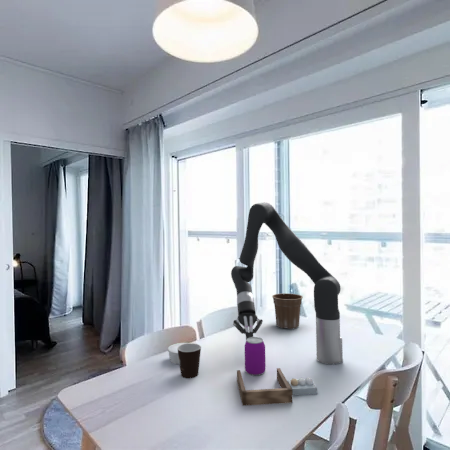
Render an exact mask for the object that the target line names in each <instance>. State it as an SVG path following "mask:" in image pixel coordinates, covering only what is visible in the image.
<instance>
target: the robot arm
mask: <svg viewBox="0 0 450 450" xmlns="http://www.w3.org/2000/svg"><path fill="white" fill-rule="evenodd" d="M248 211H249V212H248V217H247V218H248V219H247V224H246V231H245V237H244V241H243V246H242V248H241V252H240V255H239V262H240V263H241V264H242V265H244V266H241V265H235V266H233V267H232V269H231V271H230V277H231V280H232V282H233V284H234V287H235V289H236V290H235V291H236V306H237V314H238V315H237V319H234V320H233V323H232V325H233V326H234V328H236V329H237V331H239V332H240V333H241V334H244V335H245V341H246V340H247V338H250V337H254V334H257V332H258V331H259V329H260V328H261V326H262V324H263V322H264V321H263V319H259V318H258V315H257V313H256V305H255V300H254V295H253V287H252V284H251V283H250V282H252V281H253V279H254V266H255V265H254V264H255V261H256V257H257V254H258V251H259V234H260V230H261V228H262V226H263V224H265V225H266V227H268V229H270V230H271V232H272V233H273V235H274V237H275V240H276V243H277V245H278V247H279V249H280V251H281V252H282V253H283V255H284V256H285V257H286V258H287V259H288V260H289V262H291V263H292V264H293V265H294V266H295V267H296V268H298V269H299V270H301V271H302V272H304V273H305V274H306V275H307V276H308V277H309V279H310V280H311V281H312V282H313V284H314V286H313V306H314V307H313V308H314V311H315V337H316V338H315V341H316V344H315V346H316V348H315V350H316V351H315V352H316V354H315V355H316V360H317V361H318V362H320V363H321V364H324V365H338V364H340V363H343V362H344V361H343V360H344V359H343V337H341V319H340V318H341V313H340V309H339V294H341V293H340V292H341V289H342V287H341V285H340V282H339V281H338V280H337V278H336V277H334V275H333V274H331V273H330V272H329V271H328V270H327V269H326V268H325V267H324V266H323V265H322V264H321V263H320V262H319V260H317V257H315V256H314V254H313V253H312V252H311V250H310V249H309V248H308V247H307V246H306V245H305V243H303V241H302V239H300V238H299V236H297V234H296V233H295V232H294V231H293V230H292V228H290V227H289V226H288V225H287V223H286V222H285V221H284V220H283V218H282V217H281V215H280V214H279V213H278V212H277V210H276V209H275V207H274V206H273V205H272V204H270V203H269V202H258V203H255V204H253V205H252V206H251V207H250V209H249V210H248ZM255 324H256V325H255ZM254 325H255V327H254Z"/></svg>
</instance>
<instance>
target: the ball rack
mask: <svg viewBox="0 0 450 450" xmlns="http://www.w3.org/2000/svg"><path fill="white" fill-rule="evenodd" d="M286 380H287V379H286ZM287 382H288V383H289V385H290V387H291V389H292V396H304V395H317V394H318V388H317V386H316V384H315V383H314V381H313V378H310V377H307V378H306V379H305V378H302V377H301V378H299V379H296V378H292V379H288V380H287Z"/></svg>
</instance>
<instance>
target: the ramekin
mask: <svg viewBox="0 0 450 450" xmlns="http://www.w3.org/2000/svg"><path fill="white" fill-rule="evenodd" d="M187 343H188V342H179V343H174V344H171V345H169V346H168V347H167V353H168V356H169V361H170V362H171V363H172V364H173V365H179V366H180V364H179V356H178V347H179V346H180V345H182V344H187Z"/></svg>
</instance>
